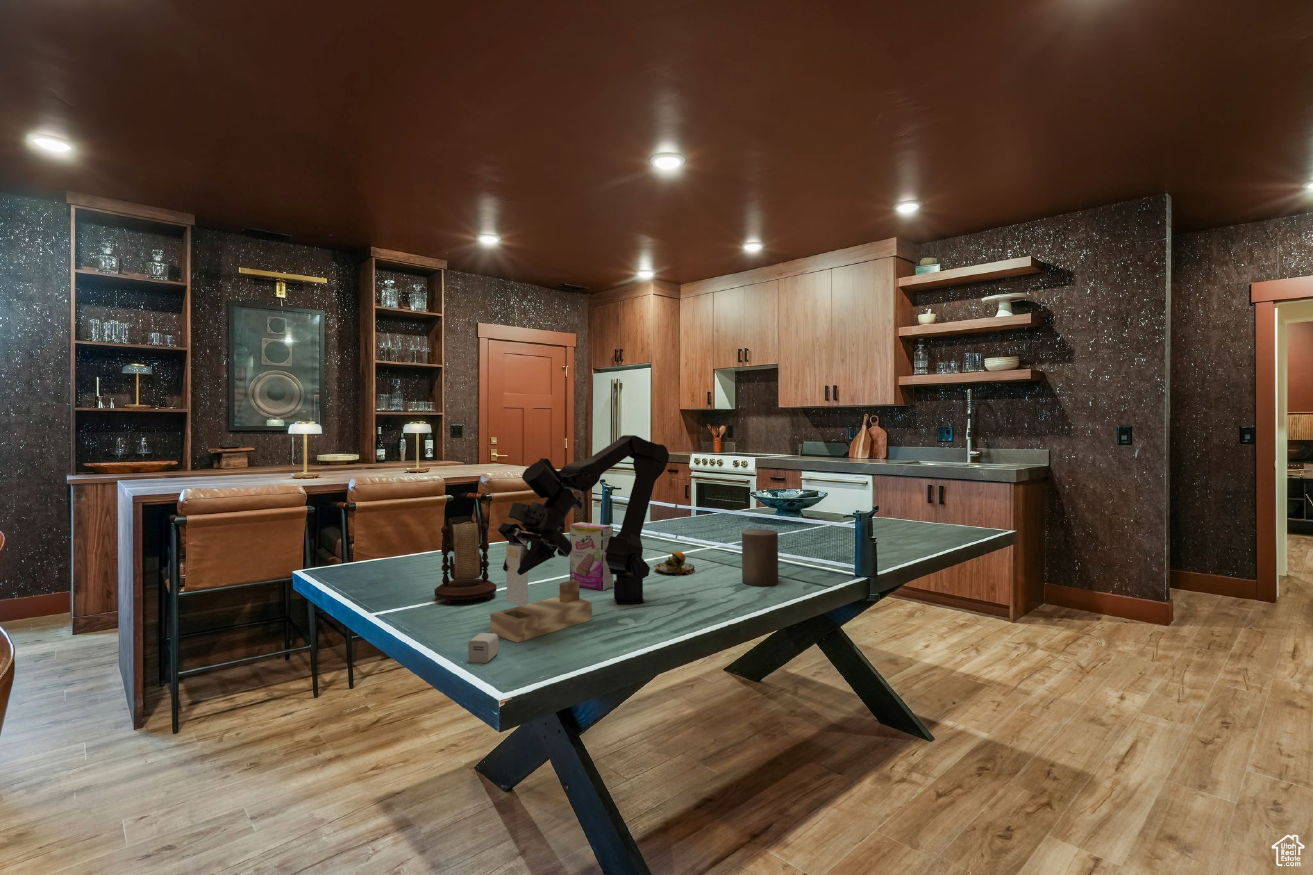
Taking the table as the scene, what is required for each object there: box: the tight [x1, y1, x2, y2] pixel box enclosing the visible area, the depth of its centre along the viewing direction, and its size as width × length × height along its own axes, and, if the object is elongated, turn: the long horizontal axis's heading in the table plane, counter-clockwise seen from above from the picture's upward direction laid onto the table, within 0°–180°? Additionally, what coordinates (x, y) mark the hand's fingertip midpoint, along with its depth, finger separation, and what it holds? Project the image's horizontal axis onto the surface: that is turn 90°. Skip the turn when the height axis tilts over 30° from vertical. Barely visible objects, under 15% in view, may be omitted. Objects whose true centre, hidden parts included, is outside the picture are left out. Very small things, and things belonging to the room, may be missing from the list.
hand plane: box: [489, 580, 593, 644], centre depth 143 cm, size 20×9×8 cm, turn 138°
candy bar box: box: [569, 521, 614, 592], centre depth 176 cm, size 11×5×16 cm, turn 58°
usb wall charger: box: [467, 632, 500, 663], centre depth 125 cm, size 4×7×4 cm, turn 171°
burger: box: [653, 547, 696, 577], centre depth 194 cm, size 12×12×8 cm
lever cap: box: [505, 543, 529, 607], centre depth 138 cm, size 2×4×12 cm, turn 48°
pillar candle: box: [741, 526, 779, 587], centre depth 180 cm, size 10×10×15 cm
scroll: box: [434, 516, 497, 606], centre depth 166 cm, size 15×15×20 cm
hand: (511, 572), depth 137 cm, fingers closed on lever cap, 4 cm apart
